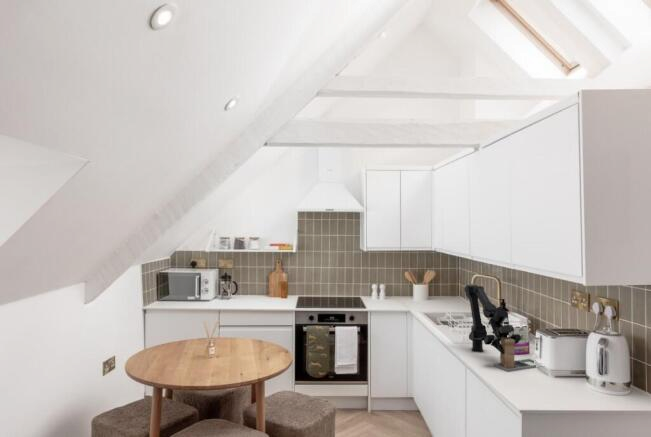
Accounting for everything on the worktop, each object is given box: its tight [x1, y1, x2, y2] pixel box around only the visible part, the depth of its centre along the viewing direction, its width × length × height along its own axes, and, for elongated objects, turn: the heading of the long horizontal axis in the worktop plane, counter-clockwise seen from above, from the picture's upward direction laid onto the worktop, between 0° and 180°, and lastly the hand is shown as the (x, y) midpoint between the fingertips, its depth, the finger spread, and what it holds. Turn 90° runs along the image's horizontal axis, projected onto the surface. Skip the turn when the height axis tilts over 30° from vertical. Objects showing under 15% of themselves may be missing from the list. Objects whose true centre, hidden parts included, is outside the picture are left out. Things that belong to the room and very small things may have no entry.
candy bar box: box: [507, 323, 531, 356], centre depth 249 cm, size 11×5×16 cm, turn 105°
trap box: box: [493, 358, 536, 373], centre depth 225 cm, size 25×10×2 cm, turn 111°
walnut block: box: [499, 338, 516, 369], centre depth 222 cm, size 5×5×15 cm
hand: (508, 353), depth 221 cm, fingers closed on walnut block, 5 cm apart
